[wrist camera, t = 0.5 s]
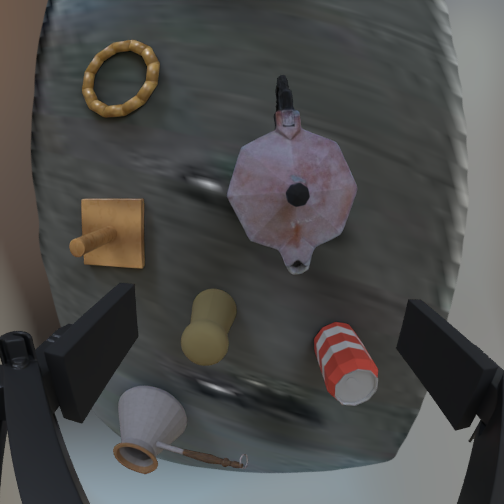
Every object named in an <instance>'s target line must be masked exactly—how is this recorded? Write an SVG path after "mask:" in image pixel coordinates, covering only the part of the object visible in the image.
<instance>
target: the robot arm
mask: <svg viewBox="0 0 504 504" xmlns="http://www.w3.org/2000/svg"><path fill="white" fill-rule="evenodd" d="M137 338H138V326H137V314H136V299H135V284H128V283H119V284H118V285H117V286H116V287H114V288H113V289H112V290H111V291H110V292H109V293H108V294H106V295H105V296H104V297H103V298H102V299H101V300H100V301H98V302H97V303H96V304H95V305H94V306H93V307H92V308H90V309H89V310H88V311H87V312H86V313H85V314H84V315H83V316H82V317H80V318H79V319H78V320H77V321H76V322H75V323H74V324H68V325H66V326H63V327H61V328H59V329H58V330H57V331H56V332H55V333H53V334H52V336H50V337H49V338H48V339H47V341H44V342H43V343H42V344H41V345H40V346H39V347H38V348H37V349H36V350H35V348H34V344H33V339H32V337H31V335H30V334H29V333H27V332H23V331H13V332H9V333H6V334H4V335H2V336H1V337H0V358H1V362H2V365H0V485H1V474H2V464H3V456H4V448H5V441H6V435H7V430H8V437H9V444H10V450H11V456H12V461H13V467H14V471H15V476H16V481H17V485H18V489H19V493H20V497H21V501H22V504H90V503H89V501H88V499H87V496H86V494H85V492H84V490H83V488H82V485H81V483H80V481H79V478H78V476H77V474H76V471H75V469H74V467H73V464H72V461H71V459H70V456H69V453H68V451H67V448H66V445H65V443H64V440H63V437H62V434H61V431H60V428H59V425H58V421H57V419H56V416H55V413H54V412H55V411H56V410H57V408H58V407H59V406H60V409H61V411H62V414H63V417H64V418H66V419H68V420H72V421H75V422H79V423H83V421H84V420H85V418H86V417H87V415H88V413H89V412H90V410H91V409H92V407H93V405H94V404H95V402H96V401H97V399H98V397H99V396H100V394H101V393H102V391H103V390H104V388H105V386H106V385H107V383H108V382H109V380H110V379H111V377H112V376H113V374H114V372H115V371H116V369H117V368H118V366H119V365H120V363H121V362H122V360H123V359H124V357H125V356H126V354H127V353H128V351H129V350H130V348H131V347H132V345H133V344H134V342H135V341H136V339H137ZM396 349H397V350H398V351H399V353H400V354H401V355H402V357H403V358H404V359H405V361H406V362H407V363H408V365H409V366H410V368H411V369H412V370H413V372H414V373H415V374H416V376H417V377H418V378H419V380H420V381H421V383H422V384H423V385H424V387H425V388H426V389H427V391H428V392H429V393H430V395H431V396H432V398H433V399H434V401H435V402H436V403H437V405H438V406H439V408H440V409H441V411H442V412H443V413H444V415H445V416H446V418H447V419H448V421H449V422H450V423H451V425H452V426H453V428H454V429H455V430H459V429H463V428H467V427H470V425H471V423H472V422H473V420H474V418H475V416H476V414H477V415H478V417H479V418H480V419H481V420H480V422H479V424H478V426H477V427H476V429H475V431H474V433H473V434H472V436H471V438H470V440H469V442H471V441H472V439H474V443H473V448H472V452H471V456H470V461H469V465H468V469H467V472H466V476H465V479H464V483H463V486H462V489H461V493H460V496H459V499H458V502H457V504H504V370H503V369H502V368H500V367H499V366H498V365H497V364H496V363H495V362H494V361H493V360H491V358H488V356H487V355H486V354H485V353H483V351H482V350H481V349H480V348H478V347H477V346H476V345H474V344H472V343H471V342H470V341H469V340H468V339H467V338H466V337H464V336H463V335H462V334H461V333H460V332H459V331H458V330H456V329H455V328H454V327H453V326H452V325H451V324H449V323H448V322H447V321H446V320H445V319H444V318H442V317H441V316H440V315H439V314H438V313H436V312H435V311H434V310H433V309H432V308H430V307H429V306H428V305H427V304H426V303H424V302H423V301H422V300H409V299H408V303H407V308H406V312H405V316H404V320H403V324H402V328H401V332H400V336H399V340H398V344H397V347H396Z"/></svg>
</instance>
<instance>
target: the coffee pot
mask: <svg viewBox="0 0 504 504" xmlns="http://www.w3.org/2000/svg"><path fill="white" fill-rule="evenodd" d="M118 411H119V422H120V432H121V440H122V442H121V443H119V444H117V445H116V446H115V447H114V449H113V452H114V455H115V458H116V459H117V460H118V461H119V462H120V463H121V464H122V465H123V466H125V467H127V468H128V469H131V470H134V471H136V472H139V473H143V474H147V473H150V472H152V471H154V470H155V469H156V468H157V466H158V462H157V460H156V456H157V455H158V454H159V453H160V452H162V451H163V450H164V449H165V450H168V451H172V452H176V453H179V454H183V455H185V456H188V457H191V458H194V459H197V460H200V461H203V462H206V463H212V464H222V466H223V467H227V466H232V467H233V468H243V464H241V459H242V457H243V455H245V456H246V459H247V461H246V465H245V467H244V468H243V469H245V468H246V467H247V464H248V456H247V455H246V454H242V455H241V457H240V463H239V462H236V461H233V462H232V461H229V460H228V458H224V459H221V458H218V457H216V456H213V455H211V454H205V453H200V452H195V451H190V450H186V449H181V448H177V447H174V446H171V445H170V444H171V443H172V442H173V441H174V440H175V439H177V438H178V437H179V436H180V435H181V434H182V433H183V432H184V430H185V428H186V427H187V417H186V413H185V410H184V408H183V407H182V405H181V403H180V402H179V401H178V400H177V399H176V398H175V397H174V396H172V395H171V394H169V393H168V392H166V391H164V390H162V389H160V388H156V387H152V386H137V387H133V388H131V389H129V390H127V391H125V392H124V393H123V394H122V396H121V397H120V399H119V402H118Z"/></svg>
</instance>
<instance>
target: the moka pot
mask: <svg viewBox="0 0 504 504" xmlns="http://www.w3.org/2000/svg"><path fill="white" fill-rule="evenodd" d="M275 92H276V99H277V102H276V103H277V105H276V108H277V109H276V113H275V114H274V121H275V130H274V131H272V132H270V133H268V134H266V135H264V136H262V137H260V138H258V139H256V140H254V141H252V142H250V143H248V144H246V145H245V146H243V147H242V148H241V150H240V153H239V156H238V159H237V162H236V165H235V169H234V172H233V175H232V179H231V182H230V185H229V188H228V192H227V198H228V200H229V202H230V204H231V206H232V208H233V209H234V211H235V213H236V215H237V217H238V219H239V221H240V222H241V224H242V226H243V228H244V230H245V232H246V234H247V236H248V238H249V239H250V240H251V241H253V242H256V243H258V244H261V245H264V246H268V247H271V248H274V249H276V250H279V252H280V254H281V256H282V258H283V261H284V263H285V265H286V267H287V269H288V271H289V272H290V273H291V274H294V275H295V274H302V273H303V272H305V271H307V270H308V268H309V265H310V261H311V257H312V253H313V250H314V249H315V247H317V246H319V245H320V244H322V243H325V242H327V241H329V240H331V239H333V238H335V237H337V236H338V235H340V234H341V232H342V231H343V229H344V226H345V224H346V221H347V218H348V215H349V212H350V209H351V207H352V204H353V201H354V198H355V195H356V193H357V185H356V182H355V180H354V178H353V176H352V173H351V171H350V169H349V167H348V165H347V162H346V160H345V158H344V156H343V154H342V152H341V149H340V147H339V145H338V144H337V143H336V142H335V141H333V140H330V139H328V138H325V137H322V136H319V135H317V134H314V133H311V132H309V131H307V130H304V129H303V128H302V127H301V122H300V115H299V111H297V110H294V108H293V99H292V93H291V90H290V89H289V86H288V80H287V78H286V77H285V75H280V76H279V77H278V78H277V86H276V91H275Z"/></svg>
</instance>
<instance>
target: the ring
mask: <svg viewBox="0 0 504 504" xmlns="http://www.w3.org/2000/svg"><path fill="white" fill-rule="evenodd" d="M125 51H132V52H135V53H137V54H139V55H141V56H142V57H143V59H144V61H145V63H146V65H147V74H146V82H145V83H144V85H143V86H142V88H141V89H140V91H139V92H138V94H137V95H136V96H135V97H133V98H132V99H130V100H128V101H127V102H125V103H124V104H121V105H111V106H108V105H106V104H104V103H103V102H101V101H99V100H98V99H97V96H96V94H95V92H94V90H93V86H94V79H95V74H96V73H97V71H98V69H99V68H100V66H101V65H102V63H103V62H104V61H105V60H107V59H108V58H110V57H111V56H113V55H114V54H116V53H118V52H125ZM159 68H160V63H159V61H158V59H157V57H156V55H155V53H154V52H153V50H152V48H151V47H150V46H147V45H145V44H143V43H141V42H138V41H136V40H127V41H121V42H115V43H112V44H111V45H109V46H108V47H106V48H105V49H103V50H102V51H101V52H99V53H98V54H96V56H95V57H94V58H93V60H92V62H91V63H90V65H89V66H88V68H87V69H86V71H85V73H84V80H83V87H82V93H83V96H84V98H85V101H86V103H87V105H88V107H89V109H91V110H92V111H94V112H96V113H98V114H99V115H101V116H103V117H105V118H108V117H119V116H126V115H128V114H129V113H131V112H133V111H134V110H136V109H137V108H139V107H140V106H142V105H144V104H145V103H146V101H147V100H148V98H149V97H150V95H151V94H152V92H153V91H154V89H155V88H156V86H157V84H158V76H159Z"/></svg>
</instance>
